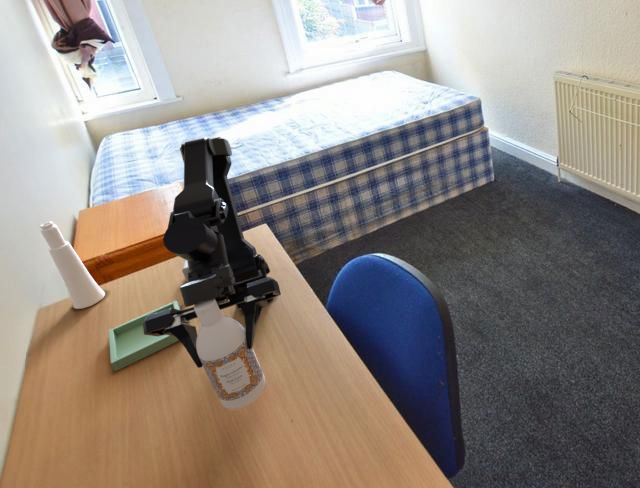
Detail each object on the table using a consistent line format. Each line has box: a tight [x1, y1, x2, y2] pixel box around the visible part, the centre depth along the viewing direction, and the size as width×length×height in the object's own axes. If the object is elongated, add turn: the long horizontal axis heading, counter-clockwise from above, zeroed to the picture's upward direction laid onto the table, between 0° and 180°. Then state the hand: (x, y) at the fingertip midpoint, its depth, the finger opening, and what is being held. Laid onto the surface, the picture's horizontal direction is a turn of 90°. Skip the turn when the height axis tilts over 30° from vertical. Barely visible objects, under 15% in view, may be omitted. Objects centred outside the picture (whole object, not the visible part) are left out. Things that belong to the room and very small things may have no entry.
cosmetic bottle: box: [39, 221, 106, 310], centre depth 110 cm, size 6×6×22 cm
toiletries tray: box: [108, 300, 182, 372], centre depth 100 cm, size 13×13×2 cm
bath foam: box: [193, 298, 267, 410], centre depth 76 cm, size 7×7×20 cm
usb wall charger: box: [181, 259, 189, 282], centre depth 120 cm, size 4×7×4 cm, turn 25°
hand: (225, 357), depth 75 cm, fingers closed on bath foam, 7 cm apart
